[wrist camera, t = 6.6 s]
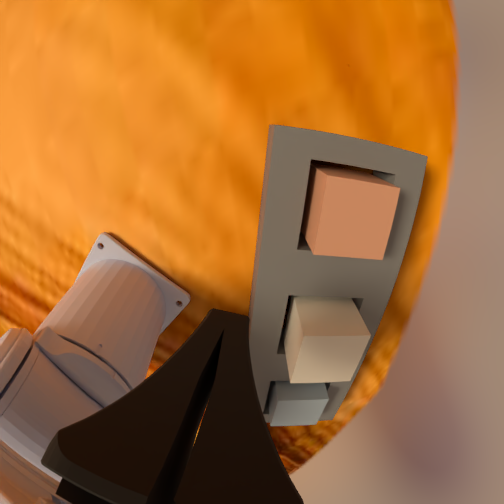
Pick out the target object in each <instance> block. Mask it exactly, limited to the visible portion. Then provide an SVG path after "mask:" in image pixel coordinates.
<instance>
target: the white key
mask: <svg viewBox="0 0 504 504" xmlns="http://www.w3.org/2000/svg"><path fill="white" fill-rule="evenodd" d="M370 337H371V334H370V332H369V330H368V329H367V327H366V325H365V323H364V321H363V319H362V317H361V315H360V313H359V311H358V309H357V308H356V306H355V304H354V302H353V300H352V298H340V297H314V296H293V295H291V300H290V305H289V310H288V315H287V320H286V325H285V329H284V334H283V341H284V347H285V353H286V360H287V366H288V372H289V378H290V383H323V382H342V381H350V380H351V378H352V376H353V374H354V372H355V370H356V368H357V366H358V364H359V361H360V359H361V357H362V355H363V353H364V350H365V348H366V346H367V344H368V341H369V339H370Z"/></svg>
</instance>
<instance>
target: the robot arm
mask: <svg viewBox="0 0 504 504" xmlns="http://www.w3.org/2000/svg"><path fill="white" fill-rule="evenodd" d="M100 243H102V244H103V245H104V247H101V245H100ZM177 301H181V302H182V304H179V303H178V302H177ZM189 302H190V294H189V293H187V292H186V291H185V290H183V289H182V288H180V287H179V286H178V285H176V284H175V283H173V282H172V281H170V280H169V279H168V278H166V277H165V276H164V275H162V274H161V273H159V272H158V271H157V270H155V269H154V268H153V267H151V266H150V265H149V264H147V263H146V262H144V261H143V260H142V259H140V258H139V257H138V256H136V255H135V254H134V253H133V252H131V251H130V250H129V249H127V248H126V247H125V246H123V245H122V244H121V243H120V242H118V241H117V240H116V239H114V238H113V237H112V236H111V235H109V234H108V233H106V232H103V233H101V234H100V235H99V236H98V238H97V240H96V242H95V243H94V245H93V247H92V249H91V251H90V253H89V255H88V257H87V259H86V260H85V262H84V264H83V266H82V268H81V270H80V272H79V274H78V277H77V279H76V281H75V283H74V285H73V286H72V287H71V288H70V289H69V290H68V292H67V293H66V294H65V295H64V296H63V297H62V299H61V300H60V301H59V302H58V304H57V305H56V306H55V307H54V308H53V310H52V311H51V312H50V313H49V315H48V316H47V317H46V319H45V320H44V321H43V322H42V324H41V325H40V326H39V328H38V329H37V330H36V332H35V333H34V334H33V336H32V335H31V334H30V333H29V331H28V330H27V329H26V328H22V329H15V328H11V329H9V330H8V331H7V332H6V333H5V334H4V335H3V336H2V337H1V338H0V504H304V503H303V500H302V498H301V496H300V495H299V493H298V491H297V490H296V488H295V486H294V484H293V483H292V481H291V479H290V477H289V475H288V473H287V471H286V469H285V467H284V465H283V463H282V461H281V459H280V457H279V454H278V452H277V450H276V447H275V445H274V443H273V440H272V438H271V435H270V433H269V430H268V427H267V424H266V421H265V419H264V415H263V412H262V409H261V406H260V402H259V398H258V394H257V390H256V386H255V381H254V376H253V371H252V364H251V357H250V348H249V322H250V318H249V317H248V316H245V315H240V314H236V313H231V312H227V311H222V310H218V309H211V310H210V311H209V312H208V314H207V316H206V317H205V318H204V320H203V321H202V322H201V324H200V325H199V326H198V327H197V329H196V330H195V331H194V332H193V334H192V335H191V336H190V337H189V338H188V339H187V340H186V341H185V343H184V344H183V345H182V346H181V347H180V348H179V349H178V350H177V351H176V352H175V353H174V354H173V355H172V356H171V357H170V358H169V359H168V360H167V361H166V362H165V363H164V364H163V365H162V366H161V367H160V368H158V369H157V370H156V371H155V372H154V373H153V374H152V375H150V376H149V377H148V378H147V379H145V377H146V374H147V370H148V367H149V364H150V361H151V358H152V355H153V352H154V349H155V346H156V343H157V340H158V337H159V335H160V334H161V333H162V332H163V331H164V330H165V329H166V327H167V326H168V325H169V324H170V323H171V322H172V321H173V320H174V319H175V318H176V316H177V315H178V314H179V313H180V312H181V311H182V310H183V309H184V308H185V307H186V306H187V304H188V303H189ZM208 400H209V401H208ZM207 403H208V404H207ZM206 406H207V407H206ZM205 408H206V411H205ZM204 411H205V414H204V417H203V420H202V423H201V426H200V429H199V432H198V435H197V438H196V434H197V430H198V427H199V424H200V421H201V419H202V416H203V413H204ZM195 438H196V440H195ZM194 441H195V443H194ZM193 445H194V446H193Z"/></svg>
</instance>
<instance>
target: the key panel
mask: <svg viewBox="0 0 504 504" xmlns="http://www.w3.org/2000/svg"><path fill="white" fill-rule="evenodd" d="M311 159H313V160H320V161H327V162H333V163H339V164H345V165H351V166H356V167H361V168H367V169H372V170H373V175H374V176H376V177H378V178H380V179H383V180H385V181H387V182H389V183H391V184H393V185H395V186H397V187H399V188H400V193H399V197H398V202H397V206H396V210H395V215H394V219H393V223H392V227H391V231H390V235H389V238H388V242H387V246H386V249H385V253H384V256H383V260H376V259H363V258H350V257H338V256H325V255H313V253H312V251H311V249H310V247H309V245H308V243H307V241H306V239H305V237H304V235H303V233H302V231H300V228H301V222H302V216H303V210H304V203H305V197H306V190H307V183H308V176H309V169H310V162H311ZM426 163H427V156H424V155H421V154H417V153H414V152H410V151H407V150H403V149H400V148H396V147H392V146H388V145H384V144H380V143H376V142H371V141H367V140H363V139H358V138H353V137H348V136H343V135H338V134H333V133H327V132H322V131H316V130H309V129H303V128H296V127H288V126H281V125H269V134H268V144H267V153H266V162H265V172H264V181H263V190H262V199H261V208H260V217H259V227H258V236H257V245H256V254H255V263H254V272H253V281H252V290H251V298H250V307H249V316H248V317H249V318H250V322H249V348H250V357H251V364H252V371H253V376H254V381H255V386H256V390H257V394H258V398H259V402H260V406H261V409H262V412H263V415H264V419H265V421H266V422H270V415H269V402H268V390H269V386H270V382H271V381H290V378H289V372H288V366H287V360H286V353H285V347H284V341H283V334H284V329H285V328H282V326H283V321H284V316H285V311H286V306H287V301H288V296H289V295H293V296H314V297H340V298H352V300H353V302H354V304H355V306H356V308H357V309H358V311H359V313H360V315H361V317H362V319H363V321H364V323H365V325H366V327H367V329H368V330H369V332H370V334H371V337H370V339H369V341H368V344H367V346H366V348H365V350H364V353H363V355H362V357H361V359H360V361H359V364H358V366H357V368H356V370H355V372H354V374H353V376H352V378H351V380H350V381H342V382H325V386H326V390H327V394H328V397H329V400H328V402H327V404H326V406H325V408H324V410H323V412H322V414H321V416H320V418H319V420H318V421H321V420H332V419H333V418H334V416H335V414H336V412H337V411H338V409H339V407H340V405H341V404H342V402H343V400H344V398H345V396H346V394H347V392H348V390H349V388H350V387H351V385H352V383H353V381H354V379H355V377H356V375H357V373H358V371H359V369H360V366H361V364H362V362H363V360H364V358H365V356H366V354H367V351H368V349H369V347H370V345H371V343H372V340H373V338H374V336H375V333H376V331H377V329H378V326H379V324H380V321H381V319H382V316H383V314H384V311H385V309H386V306H387V303H388V301H389V298H390V295H391V293H392V290H393V287H394V284H395V281H396V278H397V275H398V272H399V269H400V266H401V263H402V260H403V257H404V254H405V250H406V247H407V244H408V240H409V237H410V233H411V230H412V226H413V222H414V218H415V214H416V210H417V206H418V202H419V197H420V193H421V188H422V184H423V179H424V174H425V168H426Z"/></svg>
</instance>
